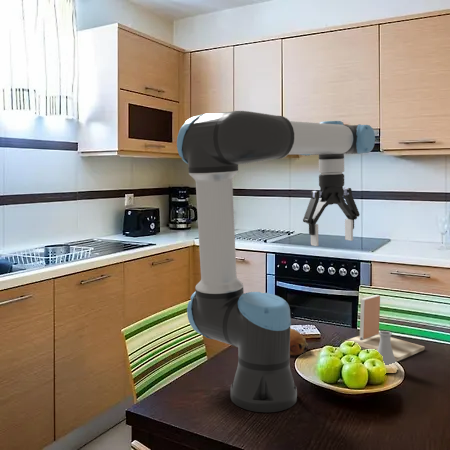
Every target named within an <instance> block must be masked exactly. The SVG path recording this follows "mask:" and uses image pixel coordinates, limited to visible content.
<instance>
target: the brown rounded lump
mask: <svg viewBox="0 0 450 450" xmlns="http://www.w3.org/2000/svg"><path fill="white" fill-rule="evenodd" d="M308 346H309V344H308V342H307V341H306V338H305V336H304V335H303V334H302V333H301V332H299V331H298V330H297V329H294V328H291V327H290V356H300V355H303V354H305V353H307V351H308V350H307V347H308ZM302 353H303V354H302Z"/></svg>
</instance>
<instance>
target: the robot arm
mask: <svg viewBox="0 0 450 450" xmlns="http://www.w3.org/2000/svg"><path fill="white" fill-rule="evenodd" d="M375 144H376V133H375V131H374V128H373V127H372V126H371V125H369V124H354V125H353V124H352V125H350V124H344V122H343V121H341V120H327V121H326V120H325V121H324V120H323V121H319V122H309V121H293V120H291V121H290V120H289V119H288V118H287V117H285V116H282V115H274V114H267V113H261V112H254V111H248V110H234V111H228V112H214V113H212V112H211V113H202V114H199V115H195V116H194V115H193V116H192V117H190V118H188V119H187V120H185V122H184V123H183V125H181V127H180V129H179V130H178V134H177V138H176V149H177V153H178V155H179V158H181V160H182V161H183V162H184V163H185V164H187V165H188V166H187V167H188V175H189V176H190V177H191V178H192V179H193V180H194V181H195V190H196V191H195V192H196V209H197V210H196V212H197V213H196V214H197V226H198V227H197V228H198V244H199V248H198V250H199V262H200V263H199V264H200V281H199V282H197V283H196V285H195V288H194V289H195V291H194V292H193V293H192V294H191V296H190V300H189V301H188V302H187V308H186V314H187V320H188V323H189V325H190V326H191V328H192V329H193V331H195V332H196V333H198V335H201V336H203V337H205V338H206V339H209V340H215V341H217V342H221V343H224V344H227V345H230V346H233V347H236V348H238V349H237V350H238V351H237V353H238V354H237V358H238V362H237V367H236V370H235V374H234V378H233V381H232V383H231V385H230V400H231V402H232V403H233V404H234V405H235V406H237V407H239V408H242V409H243V410H247V411H251V412H256V413H277V412H281V411H285V410H288V409H291V408H292V407H293V406H294V405H296V403H297V401H298V398H297V397H298V390H297V385H296V384H295V382H294V377H293V372H292V370H291V367H290V365H291V364H290V362H291V360H290V359H291V358H290V357H291V355H290V328H291V325H292V320H291V319H292V318H291V309H290V304H289V303H288V302H287V301H286V300H285V299H284V298H283V297H280V296H279V295H276V294H273V293H269V292H260V291H248V292H245V291H244V283H243V282H242V281H241V280H240V279H239V278H238V277H237V276H238V275H237V259H236V256H237V255H236V235H235V234H236V232H235V231H236V230H235V215H234V214H235V211H234V189H233V187H234V186H233V179H234V177H235V176H236V175H237V174H238V173H239V165H246V164H252V163H256V162H257V163H258V162H264V161H270V160H280V159H284V158H286V157H287V156H288V155H300V156H312V155H313V156H315V155H316V156H317V155H318V173H320V174H319V175H318V186H319V187H320V189H319V190H312V191H310V192H311V193H310V200H309V202H308V204H307V208H306V209H305V214H304V216H303V218H302V223H306V224H308V235H310V245H311V246H313V247H314V246H315V247H319V224H318V223H317V222H318V221H319V219H320V217H321V216H322V214H323V213H324V211H325V210H326V208H327V207H328V206H332V205H337V206H338V207H339V209H340V210H341V212H343V214H344V216H345V217H346V218H345V219H344V240H345V241H351V242H352V241H354V229H355V220H356V221H357V219H358V217H360V212H359V209H358V207H357V203H356V201H355V199H354V197H353V193H352V192H353V190H352V188H351V187H344V186H345V174H344V172H345V155H361V154H368V153H370V152H371V151H373V149H374V147H375ZM244 292H245V293H244Z"/></svg>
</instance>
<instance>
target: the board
mask: <svg viewBox="0 0 450 450" xmlns="http://www.w3.org/2000/svg"><path fill="white" fill-rule="evenodd" d="M345 341H354V342H357V343H358V344H359V345H360V346H361V348H362V349H376V350H378V347H379V343H380V335H379V334H378V335H375V336H373V337H370V338H367V339H364V340H360V335H357V336H354V337H350V338H348V339H346V340H343V343H344V342H345ZM390 341H391V347H392V351H393V354H394V357H395V360H396V362H400V361H402V360H405V359H407V358H409V357H411V356H413V355H415V354H418V353H420V352H423V351H425V348H426V347H425V346H424V345H420V344H417V343H414V342H413V343H412V342H409V341H407V340H404V339H399V338H395V337H392V336H391V340H390Z"/></svg>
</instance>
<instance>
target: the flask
mask: <svg viewBox="0 0 450 450" xmlns="http://www.w3.org/2000/svg"><path fill="white" fill-rule="evenodd" d="M379 335H380V343H379V347H378V350H377V351H378V352H379V353H380V354H381V355H382V356H383V361H384V363H385V365H389V364H392V363H395V362H396V363H397V361H396V360H395V357H394V354H393V351H392V347H391V341H390V340H391V337H392V335H393V333H392V332H391V331H387V330H379Z"/></svg>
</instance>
